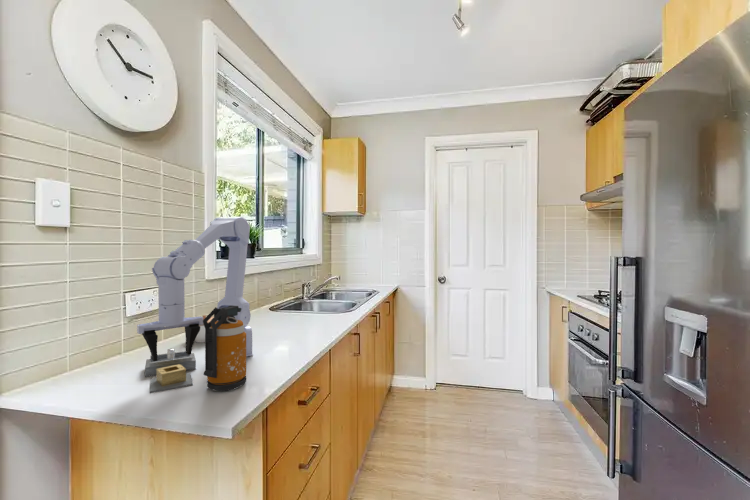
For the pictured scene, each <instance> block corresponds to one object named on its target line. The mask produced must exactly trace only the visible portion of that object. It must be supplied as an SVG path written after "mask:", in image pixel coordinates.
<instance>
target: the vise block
mask: <svg viewBox="0 0 750 500" xmlns="http://www.w3.org/2000/svg"><path fill="white" fill-rule="evenodd" d="M166 352H167V353H161V354H157V361H153V360H152V356H151V355H150V358H149V359H146V361H145V366H144V378H149V377H155V376H156V372H157V369H158V368H163V367H168V366H173V365H178V364H180V365H182V366H183V367H184V368H185V369H186V372H187V371H193V370H196V369H197V368H196V367H197V365H196V364H197V361H196V357H195V353H193V352H191V354H189V355H188V354H187V353H186V350H183V351H182V350H181V351H175V348H168V349H167V351H166Z"/></svg>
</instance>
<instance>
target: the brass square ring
mask: <svg viewBox="0 0 750 500" xmlns="http://www.w3.org/2000/svg"><path fill="white" fill-rule="evenodd" d="M186 373H187V371H186V369H185V368H184V367H183V366H182V365H180V364H178V365H173V366H168V367H163V368H158V369H157V372H156V377H155V378H156V381H157V382H158V383H159V384H160V385H161V386H162V387H163V386H167V385H171V384H175V383H179V382H183V381H186Z"/></svg>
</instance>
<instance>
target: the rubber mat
mask: <svg viewBox="0 0 750 500" xmlns="http://www.w3.org/2000/svg"><path fill="white" fill-rule="evenodd" d="M193 383H194V382H193V378H192V373H191V372H186V381H183V382H179V383H175V384H171V385H167V386H163V387H162V386H161V385H160V384H159V383H158V382H157V381H156V377H155V378H151V379H150V388H149V393H150V394H151V393H152V394H153V393H156V392H157V393H158V392H161V391H167V390H173V389H179V388H180V389H181V388H184V387H185V388H186V387H190V386H193V385H194V384H193Z"/></svg>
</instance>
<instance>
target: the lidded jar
mask: <svg viewBox="0 0 750 500" xmlns="http://www.w3.org/2000/svg"><path fill="white" fill-rule="evenodd" d="M202 317H203V320H204V319H205V318H206V317H207V315H206V314H203V315H202ZM213 318H214V316H212V317H211V318H210V319H209V320H208V321H207V323H209V322H210V321H211V320H212V319H213ZM199 326H200V331H199V333H198V334H197V336H196V338H195V341H194V343H198V344H199V343H201V344H202V343H205V327H204V323H203V325H199Z"/></svg>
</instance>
